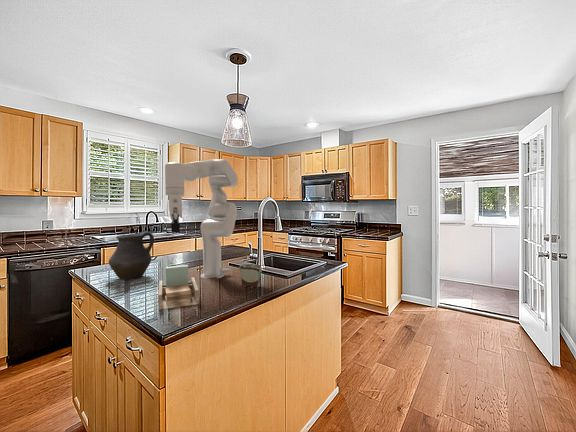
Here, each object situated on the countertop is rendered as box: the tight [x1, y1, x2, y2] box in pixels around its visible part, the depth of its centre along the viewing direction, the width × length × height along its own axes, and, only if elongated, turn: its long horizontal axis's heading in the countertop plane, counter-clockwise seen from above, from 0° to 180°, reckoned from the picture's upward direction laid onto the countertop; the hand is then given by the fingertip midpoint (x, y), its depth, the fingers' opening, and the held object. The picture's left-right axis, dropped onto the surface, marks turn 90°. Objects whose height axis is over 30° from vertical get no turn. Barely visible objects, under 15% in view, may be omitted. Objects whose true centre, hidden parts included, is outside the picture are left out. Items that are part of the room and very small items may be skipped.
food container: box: [238, 263, 263, 288], centre depth 140 cm, size 12×6×10 cm, turn 65°
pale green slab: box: [165, 264, 190, 287], centre depth 123 cm, size 9×3×12 cm, turn 114°
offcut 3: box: [165, 296, 191, 306], centre depth 114 cm, size 9×7×2 cm
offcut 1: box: [165, 285, 191, 297], centre depth 114 cm, size 9×7×2 cm
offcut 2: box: [167, 289, 191, 301], centre depth 115 cm, size 9×7×2 cm
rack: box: [157, 276, 200, 310], centre depth 117 cm, size 14×20×7 cm
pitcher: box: [108, 230, 155, 280], centre depth 153 cm, size 21×22×25 cm
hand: (175, 231), depth 122 cm, fingers open, 9 cm apart
